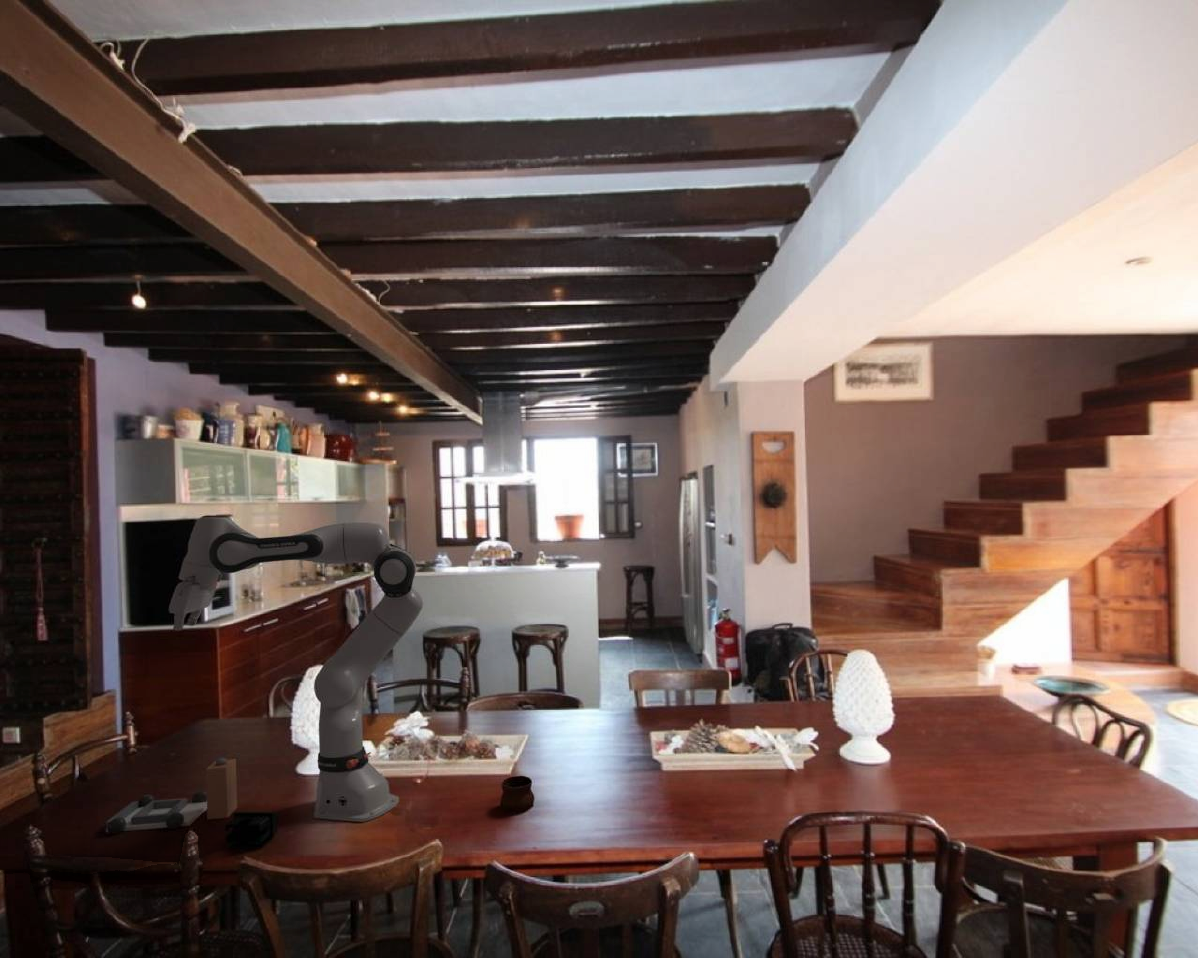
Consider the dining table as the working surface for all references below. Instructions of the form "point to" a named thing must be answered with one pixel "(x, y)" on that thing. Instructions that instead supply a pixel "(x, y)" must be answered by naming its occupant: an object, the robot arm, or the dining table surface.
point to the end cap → (251, 830)
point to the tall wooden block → (221, 788)
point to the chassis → (158, 813)
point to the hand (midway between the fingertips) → (184, 627)
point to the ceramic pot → (517, 794)
